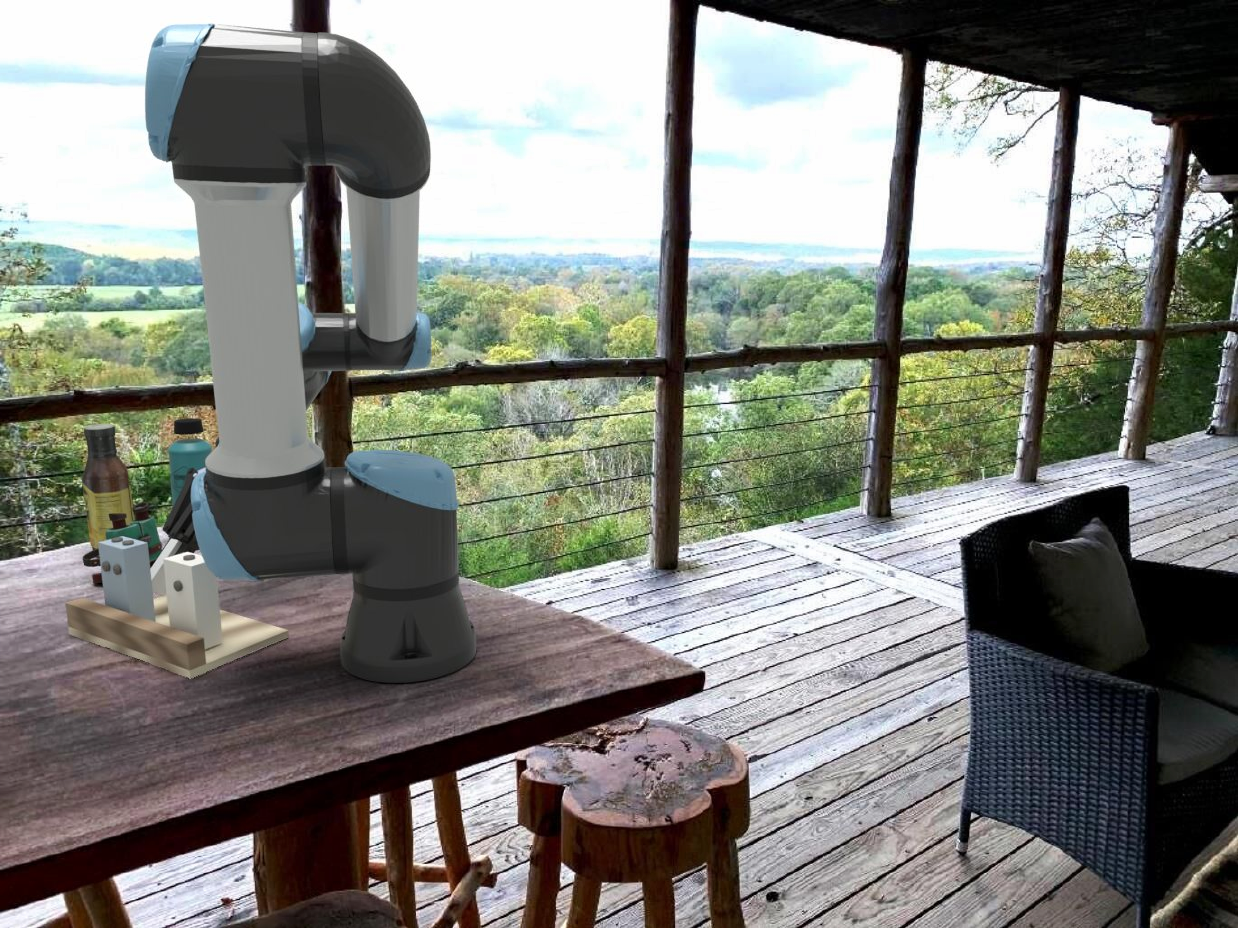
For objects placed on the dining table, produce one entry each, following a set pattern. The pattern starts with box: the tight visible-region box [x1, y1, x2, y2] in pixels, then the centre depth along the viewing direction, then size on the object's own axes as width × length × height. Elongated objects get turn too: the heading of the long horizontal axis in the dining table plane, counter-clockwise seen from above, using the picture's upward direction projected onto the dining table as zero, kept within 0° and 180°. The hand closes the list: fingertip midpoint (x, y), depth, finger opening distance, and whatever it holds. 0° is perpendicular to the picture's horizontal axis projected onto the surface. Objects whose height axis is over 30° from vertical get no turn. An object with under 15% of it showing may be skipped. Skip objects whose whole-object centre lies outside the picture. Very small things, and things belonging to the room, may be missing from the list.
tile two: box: [98, 536, 156, 622], centre depth 108 cm, size 5×3×10 cm, turn 60°
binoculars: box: [82, 501, 163, 584], centre depth 127 cm, size 9×11×10 cm
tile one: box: [163, 552, 223, 649], centre depth 103 cm, size 5×3×10 cm, turn 60°
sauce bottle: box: [81, 423, 136, 558], centre depth 137 cm, size 7×6×20 cm
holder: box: [65, 594, 290, 680], centre depth 108 cm, size 23×13×4 cm, turn 60°
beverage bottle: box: [167, 417, 213, 509], centre depth 143 cm, size 6×7×20 cm
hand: (152, 590), depth 112 cm, fingers closed
